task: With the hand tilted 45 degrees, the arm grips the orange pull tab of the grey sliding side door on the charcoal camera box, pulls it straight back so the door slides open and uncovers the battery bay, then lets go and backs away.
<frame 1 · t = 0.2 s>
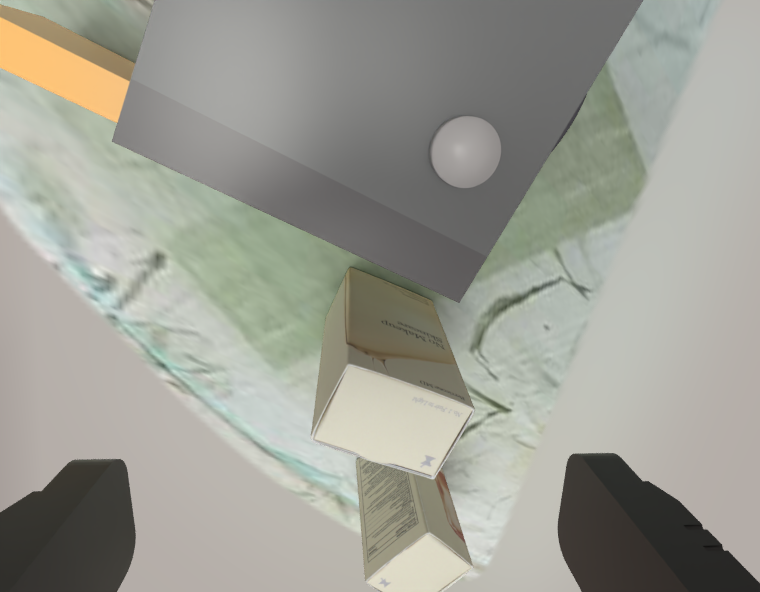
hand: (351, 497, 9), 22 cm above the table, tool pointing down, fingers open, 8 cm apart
skincare box 2: (398, 453, 36), on the table
skincare box: (376, 309, 32), on the table
door: (206, 127, 21), point 5 cm above the table, slide at 0.0 cm
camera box: (370, 63, 26), on the table
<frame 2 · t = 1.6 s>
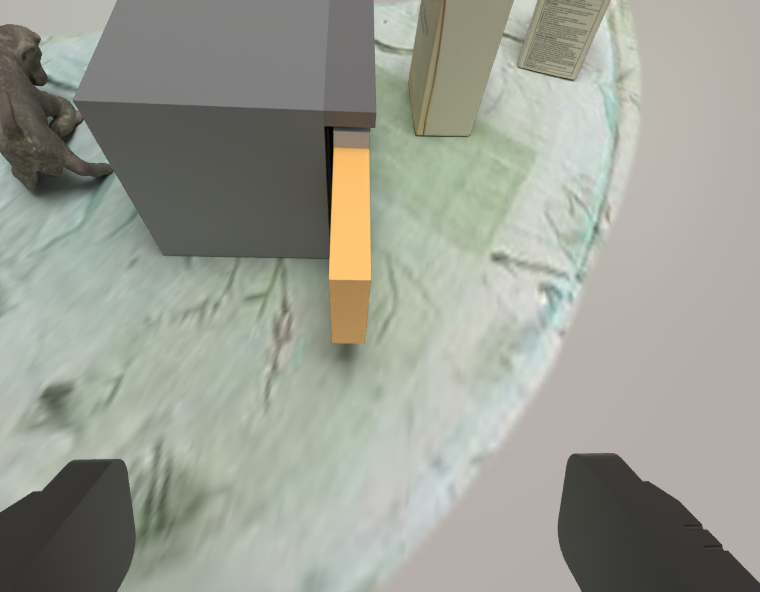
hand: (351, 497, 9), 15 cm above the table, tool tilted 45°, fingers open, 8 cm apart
skincare box 2: (546, 61, 41), on the table
skincare box: (439, 112, 37), on the table
dog figurine: (58, 146, 33), on the table
door: (350, 177, 25), point 5 cm above the table, slide at 0.0 cm
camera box: (259, 171, 32), on the table
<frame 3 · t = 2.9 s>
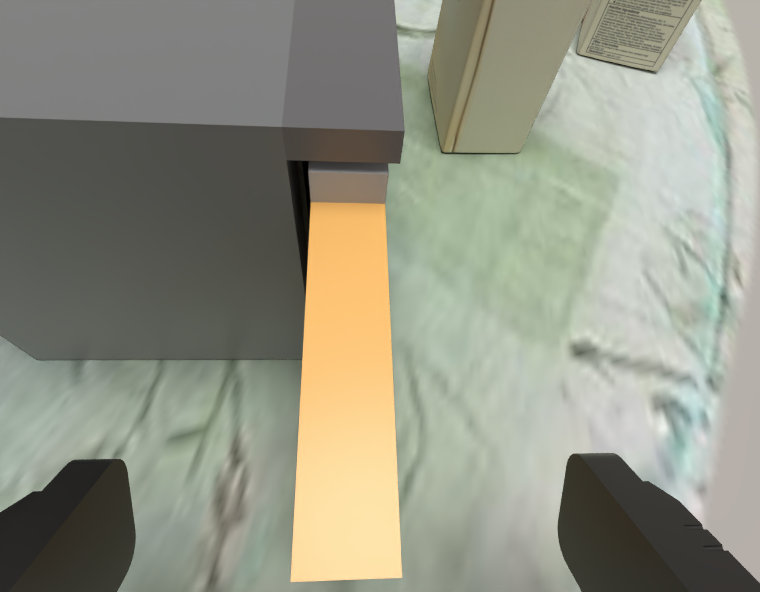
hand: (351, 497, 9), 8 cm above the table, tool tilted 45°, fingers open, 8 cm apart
skincare box 2: (614, 47, 30), on the table
skincare box: (472, 118, 26), on the table
door: (347, 241, 14), point 5 cm above the table, slide at 0.0 cm
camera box: (206, 211, 21), on the table
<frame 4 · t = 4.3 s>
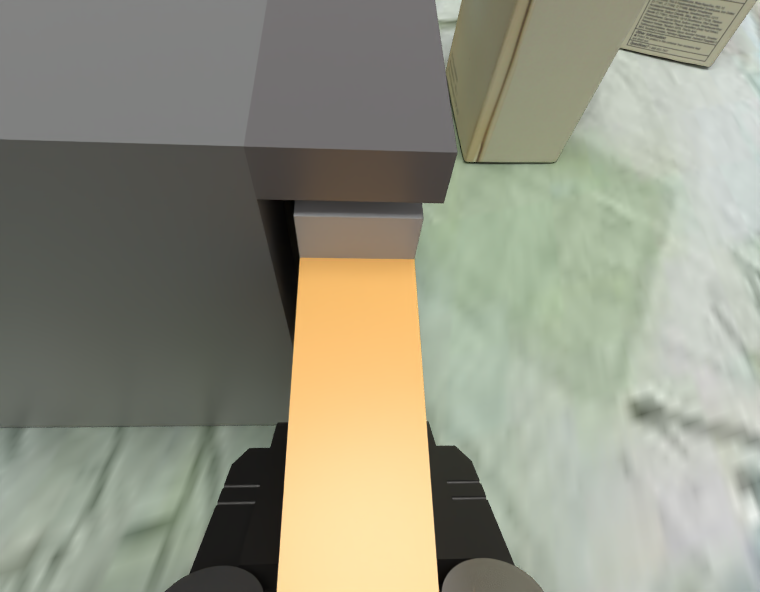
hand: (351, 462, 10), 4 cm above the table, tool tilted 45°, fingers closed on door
skincare box 2: (658, 40, 26), on the table
skincare box: (499, 121, 22), on the table
door: (354, 291, 10), point 5 cm above the table, slide at 0.0 cm, touching gripper
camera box: (183, 235, 17), on the table
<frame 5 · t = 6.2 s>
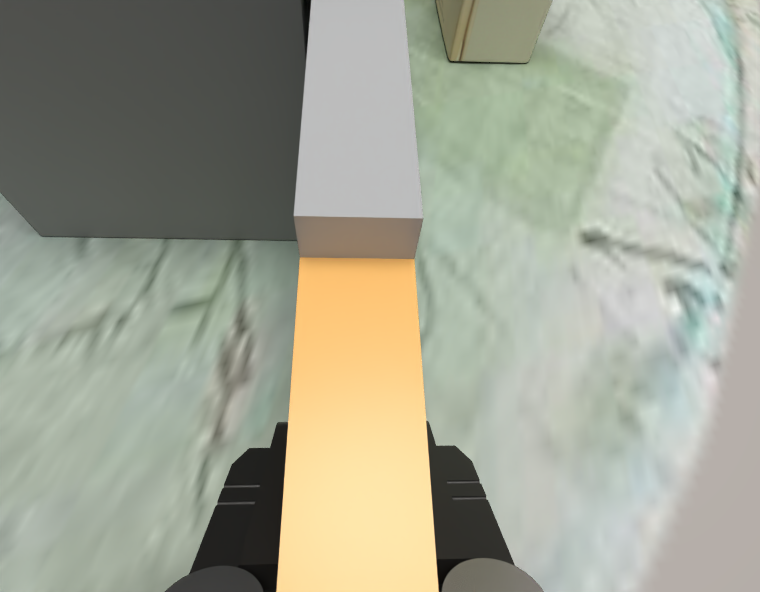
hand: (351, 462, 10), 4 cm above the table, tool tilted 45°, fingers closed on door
skincare box: (480, 33, 25), on the table
door: (354, 290, 10), point 6 cm above the table, slide at 6.9 cm, touching gripper
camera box: (211, 109, 21), on the table
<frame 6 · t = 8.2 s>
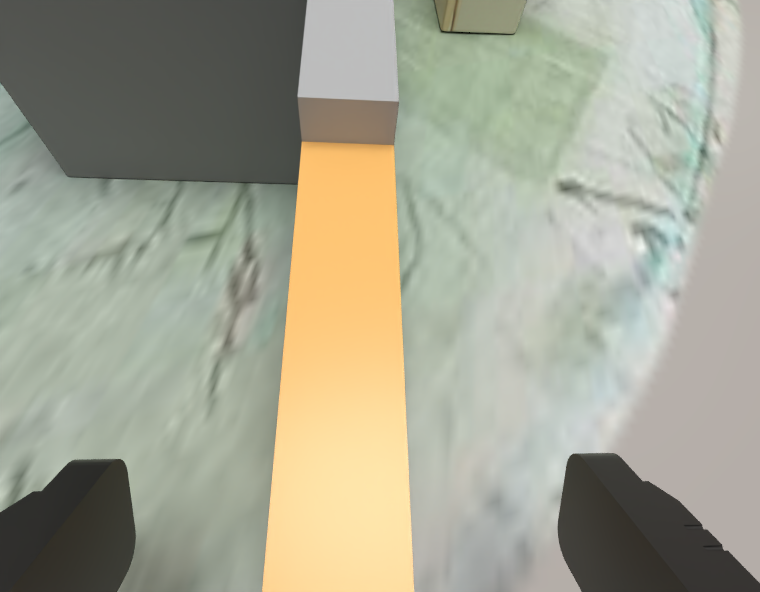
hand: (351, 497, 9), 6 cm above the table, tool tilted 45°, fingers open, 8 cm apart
skincare box: (471, 7, 27), on the table
door: (347, 207, 12), point 5 cm above the table, slide at 7.3 cm
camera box: (221, 70, 23), on the table
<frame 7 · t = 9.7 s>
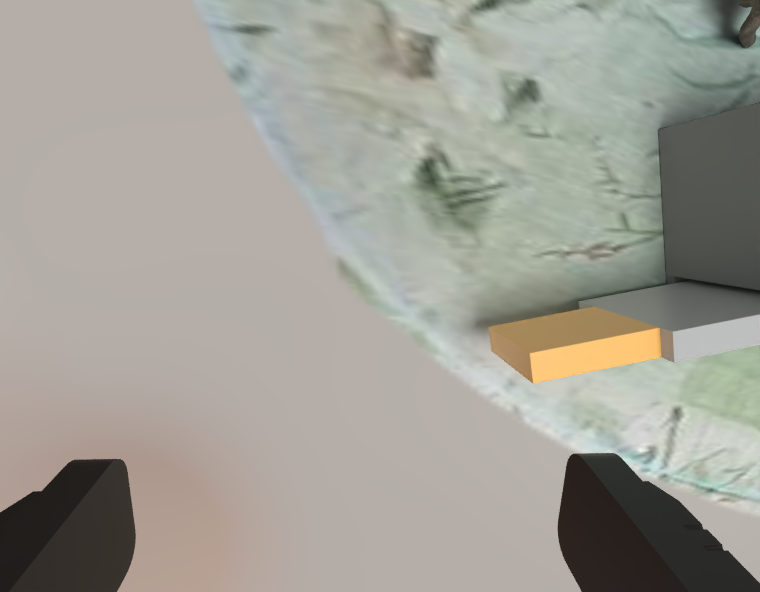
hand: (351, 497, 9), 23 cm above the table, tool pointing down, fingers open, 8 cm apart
door: (642, 322, 28), point 6 cm above the table, slide at 7.3 cm
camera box: (754, 188, 33), on the table
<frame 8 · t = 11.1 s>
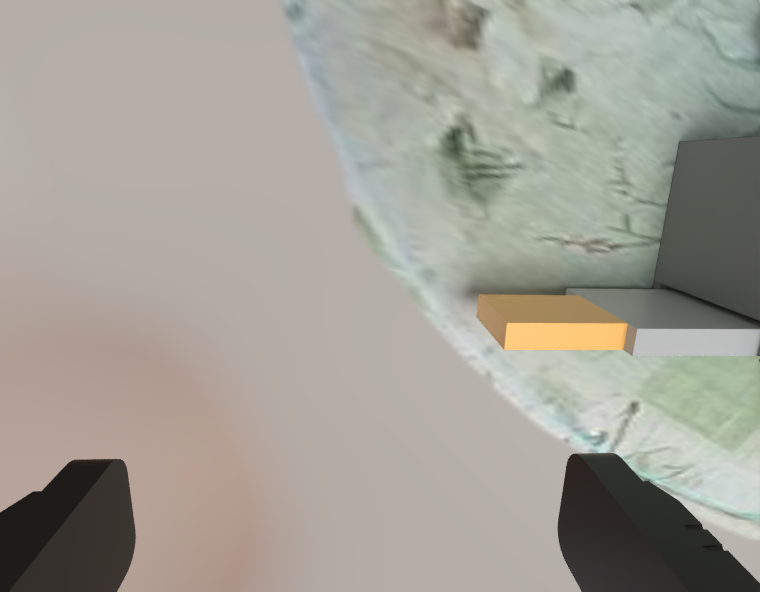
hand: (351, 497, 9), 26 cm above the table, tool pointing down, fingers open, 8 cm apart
door: (617, 317, 30), point 6 cm above the table, slide at 7.3 cm
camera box: (756, 215, 35), on the table
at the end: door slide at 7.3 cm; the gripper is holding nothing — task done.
